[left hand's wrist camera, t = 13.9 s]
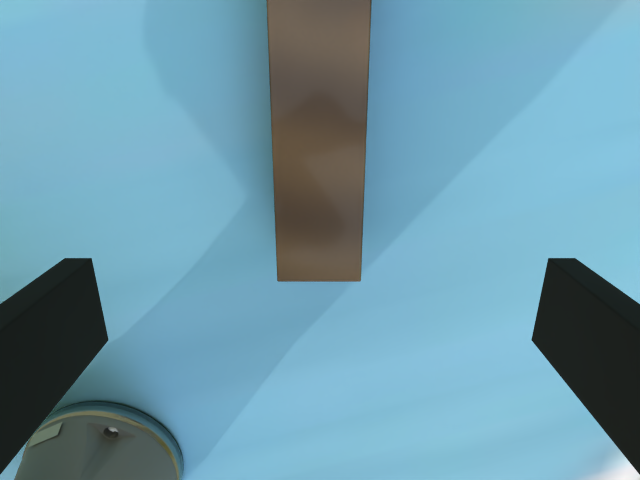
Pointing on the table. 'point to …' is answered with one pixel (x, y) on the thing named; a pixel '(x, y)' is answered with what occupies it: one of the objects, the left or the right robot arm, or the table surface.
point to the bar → (319, 135)
